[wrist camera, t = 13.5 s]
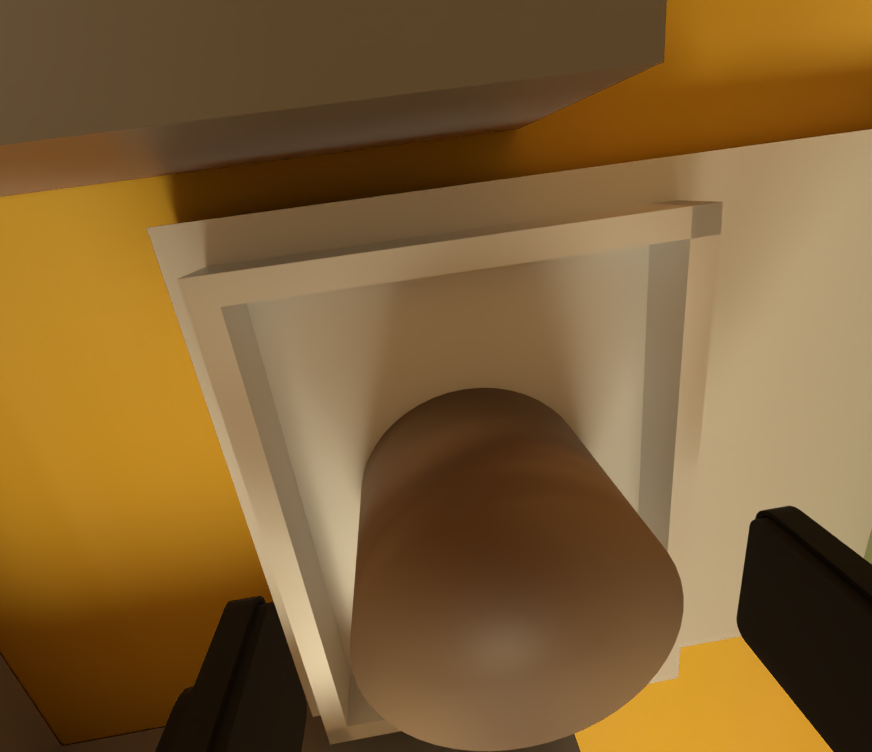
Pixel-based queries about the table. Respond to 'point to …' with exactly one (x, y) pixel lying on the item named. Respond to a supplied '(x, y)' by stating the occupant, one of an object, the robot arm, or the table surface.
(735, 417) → the tray
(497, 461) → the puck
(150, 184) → the table surface
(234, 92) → the frame
